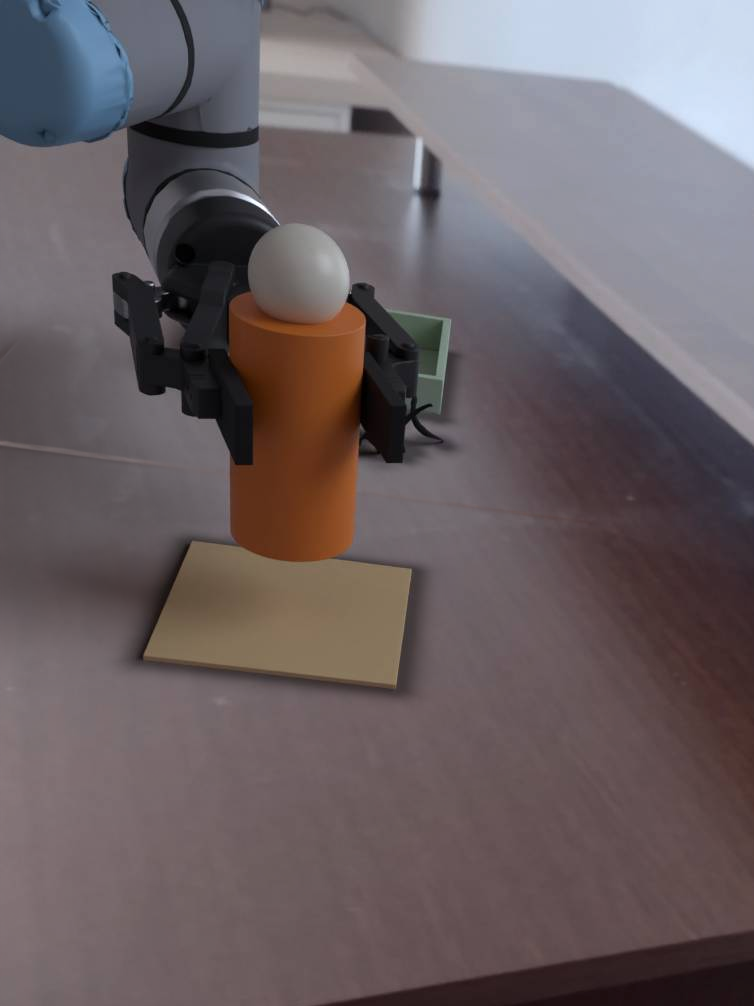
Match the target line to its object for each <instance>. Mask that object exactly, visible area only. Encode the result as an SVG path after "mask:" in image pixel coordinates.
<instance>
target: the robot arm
mask: <svg viewBox="0 0 754 1006" xmlns="http://www.w3.org/2000/svg"><path fill="white" fill-rule="evenodd" d="M262 7H264V0H0V136H3V137H4V138H6V139H7V140H9V141H12V142H15V143H17V144H20V145H24V146H27V147H32V148H52V147H60V146H66V145H70V144H75V143H80V142H83V143H87V144H93V143H95V142H100V141H103V140H105V139H108V138H110V137H111V135H113V134H114V133H115V132H118V131H120V130H123V129H126V141H127V142H126V143H127V157H126V160H125V162H124V166H123V169H122V176H121V177H122V179H121V182H122V195H123V200H122V201H123V207H124V212H125V215H126V218H127V220H128V221H129V222H130V225H131V229H132V231H133V233H134V235H136V237H137V240H138V241H139V242H140V243H141V246H142V247H143V249H144V251H145V253H146V256H147V258H148V259H149V262H150V265H151V268H152V269H153V272H154V274H155V276H156V278H157V280H158V282H159V285H160V286H156V283H155V282H154V281H153V280H142V278H140V277H139V276H137V275H135V274H134V273H130V272H128V271H119V272H114V273H112V274H111V285H112V302H113V319H114V320H113V321H114V325H115V326H116V327H117V328H118V329H119V330H121V331H122V332H123V333H124V334H126V336H127V337H129V343H130V347H131V353H132V360H133V365H134V366H133V367H134V370H135V375H136V383H137V388H138V391H139V392H140V393H141V394H143V395H146V396H150V397H151V396H152V397H153V396H161V395H164V394H166V392H167V388H171V389H175V390H177V391H179V392H180V400H181V403H180V405H181V413H182V414H183V415H185V416H188V417H193V418H197V419H199V420H215V422H216V425H217V427H218V429H219V431H220V434H221V436H222V438H223V441H224V443H225V445H226V448H227V450H228V452H229V455H230V454H231V456H232V459H233V461H234V463H235V465H253V404H252V402H251V400H250V398H249V396H248V394H247V392H246V390H245V388H244V386H243V384H242V382H241V380H240V378H239V376H238V374H237V372H236V370H235V368H234V366H233V364H232V362H231V360H230V357H229V355H228V353H229V304H230V302H231V300H232V299H234V298H235V297H236V296H238V295H241V294H244V293H247V292H251V289H250V286H249V281H248V264H249V259H250V256H251V253H252V251H253V249H254V247H255V245H256V244H257V242H258V241H259V240H260V238H261V237H262V236H263V235H264V234H266V233H267V232H268V231H270V230H271V229H273V228H275V227H278V226H281V224H280V223H279V221H278V220H277V218H276V217H275V216H274V215H273V213H272V212H271V211H270V209H269V208H268V206H267V205H266V204H265V202H264V201H263V200H262V197H260V135H259V132H260V125H259V121H260V120H259V117H260V116H259V115H260V114H259V113H260V72H261V71H260V69H261V68H260V65H261V61H260V60H261V21H262V20H261V16H262V15H261V13H262ZM375 292H376V287H375V286H373V285H372V284H369V283H367V282H356V283H353V284H352V285H351V289H349V292H348V296H347V299H346V302H347V303H349V304H351V305H353V306H354V307H356V308H357V309H359V310H360V311H361V312H362V313H363V314H364V316H365V319H366V326H365V344H364V362H363V379H362V397H361V415H360V422H361V424H362V425H363V427H364V428H365V430H366V432H367V433H368V435H369V436H370V438H371V439H372V441H373V443H374V444H375V446H376V447H377V449H378V451H379V452H380V454H379V455H380V456H381V457H382V459H383V461H384V462H385V464H403V460H404V453H403V450H404V446H405V436H406V426H405V424H406V416H407V411H408V410H407V405H406V404H405V400H406V398H413V397H415V396H416V395H417V383H418V371H419V358H420V346H419V345H418V344H417V343H416V342H415V341H414V340H413V339H412V337H411V336H410V335H409V334H408V333H407V332H406V331H405V330H404V329H403V328H402V327H401V326H400V325H399V324H398V323H397V322H396V321H395V320H394V319H393V317H392V316H391V315H390V314H389V313H388V312H387V311H386V310H385V309H386V308H385V309H384V307H383V306H382V305H381V304H380V303H379V301H378V300H376V298H375V294H376V293H375ZM163 313H164V314H165V316H167V317H168V318H169V319H170V320H173V321H175V322H177V323H179V325H180V326H181V327H182V328H183V329H184V330H185V332H184V333H183V335H182V338H181V340H180V343H179V348H171V347H165V338H164V335H163V334H164V333H163V329H162V325H161V320H160V319H161V318H163ZM361 424H360V425H361ZM363 427H362V428H363Z"/></svg>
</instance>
